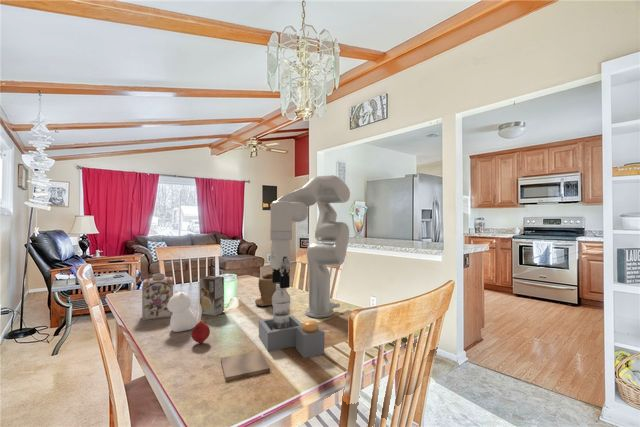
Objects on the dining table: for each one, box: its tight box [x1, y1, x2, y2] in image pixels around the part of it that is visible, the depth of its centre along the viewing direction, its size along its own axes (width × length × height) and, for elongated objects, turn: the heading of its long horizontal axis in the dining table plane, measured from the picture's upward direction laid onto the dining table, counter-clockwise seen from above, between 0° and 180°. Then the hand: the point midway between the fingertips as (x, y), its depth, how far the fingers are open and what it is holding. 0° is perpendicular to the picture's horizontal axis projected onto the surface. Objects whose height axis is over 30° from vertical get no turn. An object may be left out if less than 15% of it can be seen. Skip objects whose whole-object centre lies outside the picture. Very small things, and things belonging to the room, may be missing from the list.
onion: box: [191, 319, 211, 345], centre depth 102 cm, size 6×6×8 cm
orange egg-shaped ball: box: [301, 319, 319, 332], centre depth 96 cm, size 5×5×6 cm
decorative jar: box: [141, 272, 174, 321], centre depth 132 cm, size 12×12×18 cm
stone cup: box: [254, 272, 276, 307], centre depth 148 cm, size 15×12×15 cm
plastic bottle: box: [271, 282, 291, 330], centre depth 105 cm, size 6×7×20 cm
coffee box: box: [199, 275, 225, 317], centre depth 135 cm, size 9×6×16 cm
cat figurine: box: [167, 289, 203, 333], centre depth 116 cm, size 9×12×15 cm
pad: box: [220, 350, 271, 382], centre depth 87 cm, size 12×12×1 cm
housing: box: [258, 314, 325, 359], centre depth 101 cm, size 16×22×7 cm
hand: (280, 285), depth 104 cm, fingers open, 9 cm apart
